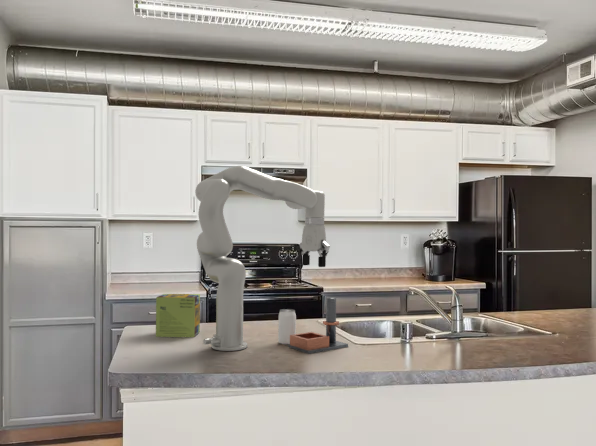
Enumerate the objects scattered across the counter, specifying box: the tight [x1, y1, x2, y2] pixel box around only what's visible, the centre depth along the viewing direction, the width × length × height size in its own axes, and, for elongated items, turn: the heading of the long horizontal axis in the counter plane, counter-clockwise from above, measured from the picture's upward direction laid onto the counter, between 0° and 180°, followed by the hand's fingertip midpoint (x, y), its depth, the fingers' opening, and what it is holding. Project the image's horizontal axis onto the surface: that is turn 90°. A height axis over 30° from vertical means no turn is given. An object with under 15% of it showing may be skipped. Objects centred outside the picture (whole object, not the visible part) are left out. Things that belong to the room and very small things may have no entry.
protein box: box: [155, 293, 201, 338], centre depth 218 cm, size 10×15×16 cm
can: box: [277, 308, 297, 346], centre depth 204 cm, size 6×6×12 cm
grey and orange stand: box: [287, 297, 349, 355], centre depth 198 cm, size 18×12×17 cm, turn 127°
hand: (313, 266), depth 217 cm, fingers open, 9 cm apart
